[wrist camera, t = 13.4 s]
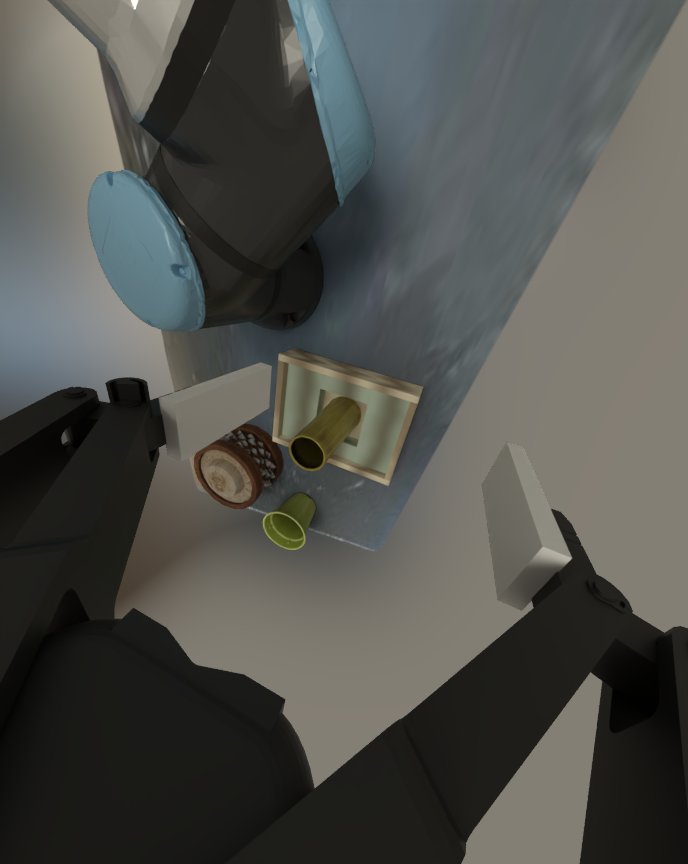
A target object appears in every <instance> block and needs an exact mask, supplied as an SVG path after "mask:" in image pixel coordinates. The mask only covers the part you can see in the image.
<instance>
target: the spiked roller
mask: <svg viewBox="0 0 688 864" xmlns="http://www.w3.org/2000/svg"><path fill="white" fill-rule="evenodd" d="M194 468H195V471H196V474H197V477H198V479H199V481H200V483H201V484H202V486H203V487H204V489H205V490H206V491H207V492H208V493H209V494H210V495H211V496H212V497H213V498H214V499H215V500H217V501H218V502H220V503H221V504H223V505H225V506H228V507H231V508H233V509H244V508H247V507H249V506H251V505H252V504H253V503H254V502H255V501H256V500H257V499H258V497H259V496H262V492H264V490H265V487H266V486H270V485H271V484H272V483H273V482H274V481H275V480H276V479H277V478H278V477H279V475H280V474H281V473H282V468H283V458H282V453H281V451H280V449H279V447H278V445H277V443H276V442H274V441H272V437H271V436H270V435H269V434H268V433H267V432H265V431H264V430H262V429H261V428H259V427H257V426H253V425H250V424H242V425H241V426H239V427H237V428H236V429H234V430H233V431H231V432H229V433H228V434H226V435H224V436H223V437H221V438H220V440H216V441H215V442H213V443H211V444H210V445H208V446H206V447H205V448H203V449H201V450H200V451H198V452H197V453H196V455H195V457H194Z"/></svg>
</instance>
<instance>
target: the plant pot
mask: <svg viewBox="0 0 688 864" xmlns="http://www.w3.org/2000/svg"><path fill="white" fill-rule="evenodd" d="M315 511H316V506H315V503H314V501H313V500H312V499H311V498H309V497H308V496H307V495H306V494H303V493H296V494H294V495H293V496H292V497H291V498H289V499H288V500H287V501H286V502H285V503H284V504H283V505H282V506H280V507H279V508H278V509H277V510H274V511H273V512H270V513H268V514H267V515H266V516H265V517H264V520H263V528H264V530H265V532H266V534H267V535H268V537H269V538H270V539H271V540H272V541H273V542H274V543H276V544H277V545H279V546H281V547H283V548H286V549H289V550H296V549H299V548H301V547H302V546H303V545H304V543H305V540H306V531H307V529H308V527H309V524H310V522H311V520H312V518H313V515H314V513H315Z"/></svg>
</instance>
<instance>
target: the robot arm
mask: <svg viewBox="0 0 688 864" xmlns="http://www.w3.org/2000/svg"><path fill="white" fill-rule="evenodd" d="M48 1H49V2H50V3H51V4H52V5H53V6H54V7H55V8H56V9H57V10H58V11H59V12H60V13H61V14H62V15H63V16H64V17H65V18H66V19H67V20H68V21H69V22H71V23H72V25H74V26H75V27H76V28H77V29H78V30H79V31H80V32H81V33H82V34H83V35H84V36H85V37H86V38H87V39H88V40H89V41H90V42H91V43H92V44H93V45H94V46H95V47H96V48H97V49H98V50H99V51H100V52H101V53H102V54H103V55H104V56H105V57H106V59H107V60H108V62H109V64H110V65H111V67H112V69H113V70H114V72H115V74H116V77H117V80H118V82H119V85H120V87H121V90H122V93H123V95H124V98H125V100H126V103H127V106H128V108H129V111H130V113H131V116H132V118H133V119H134V120H135V121H136V122H137V123H138V124H140V125H141V126H142V127H143V128H144V129H145V130H146V131H147V132H149V133H150V134H151V135H152V136H153V137H154V138H155V139H156V140H157V141H159V142H160V143H161V144H160V146H159V148H158V150H157V153H156V155H155V157H154V159H153V161H152V163H151V165H150V168H149V170H148V172H147V174H146V175H145V176H144V177H141V176H140V175H138V174H136V173H133V172H131V171H129V170H121V171H118V172H111V171H108V172H104V173H103V174H101V175H99V177H97V178H96V180H95V181H94V183H93V185H92V187H91V190H90V194H89V199H88V221H89V229H90V234H91V238H92V242H93V246H94V248H95V251H96V253H97V257H98V260H99V262H100V265H101V267H102V269H103V271H104V274H105V276H106V278H107V279H108V281H109V283H110V285H111V286H112V288H113V289H114V291H115V292H116V294H117V295H118V297H119V298H120V299H121V300H122V302H123V303H124V304H125V305H126V306H127V308H128V309H129V310H130V311H131V312H132V313H133V314H135V315H136V316H137V317H138V318H139V319H141V320H142V321H143V322H145V323H147V324H148V325H150V326H152V327H156V328H158V329H161V330H165V331H188V332H191V331H195V330H198V329H203V328H210V327H217V326H223V325H230V324H237V323H244V322H252V323H254V324H257V325H259V326H262V327H264V328H268V329H273V330H283V329H288V328H293V327H296V326H298V325H300V324H301V323H303V322H304V321H306V320H307V319H308V318H309V317H310V316H311V314H312V313H313V312H314V310H315V308H316V306H317V304H318V302H319V299H320V296H321V292H322V287H323V267H322V262H321V257H320V254H319V251H318V248H317V246H316V244H315V242H314V240H313V238H312V237H311V235H312V234H313V233H314V232H315V231H316V230H317V229H318V228H319V226H320V225H321V224H322V223H323V222H324V221H325V220H326V219H327V218H328V217H329V216H330V215H331V214H332V213H333V212H334V211H335V209H336V208H337V207H338V206H339V207H341V206H342V205H343V204H344V201H345V198H346V196H347V195H348V194H349V193H350V192H351V191H352V189H353V188H354V187H355V186H356V185H357V183H358V182H359V181H360V180H361V179H362V177H363V176H364V175H365V174H366V173H367V171H368V170H369V168H370V167H371V165H372V162H373V159H374V155H375V147H376V141H375V133H374V128H373V125H372V121H371V118H370V114H369V111H368V108H367V105H366V102H365V99H364V96H363V93H362V90H361V87H360V84H359V81H358V78H357V75H356V73H355V70H354V67H353V64H352V61H351V59H350V56H349V53H348V50H347V48H346V45H345V42H344V40H343V37H342V34H341V32H340V29H339V26H338V24H337V21H336V19H335V16H334V13H333V11H332V8H331V6H330V3H329V1H328V0H48ZM271 369H272V366H270V365H267V364H264V363H261V362H260V363H257V364H255V365H252V366H249V367H246V368H243V369H240V370H237V371H235V372H232V373H229V374H226V375H223V376H220V377H217V378H215V379H212V380H209V381H206V382H203V383H200V384H197V385H195V386H190V387H187V388H184V389H182V390H179V391H176V392H174V393H170V394H167V395H164V396H162V397H159V398H156V399H153V400H150V397H149V391H148V386H147V382H146V381H145V380H142V379H139V378H118V379H113V380H110V381H108V382H106V387H107V391H108V395H109V399H110V403H107V402H101V401H99V399H98V395H97V392H96V391H95V390H94V389H90V388H81V387H75V388H74V387H70V388H68V389H63V390H60V391H57V392H55V393H53V394H51V395H49V396H47V397H45V398H43V399H41V400H39V401H37V402H35V403H34V404H31V405H29V406H28V407H26V408H24V409H22V410H20V411H18V412H16V413H14V414H13V415H10V416H8V417H7V418H4V419H2V420H0V864H461V863H462V861H463V859H464V856H465V853H466V842H467V840H468V838H469V836H470V834H471V833H472V831H473V830H474V828H475V827H476V826H477V824H478V823H479V822H480V820H481V819H482V817H483V816H484V815H485V814H486V812H487V811H488V809H489V808H490V807H491V805H492V804H493V803H494V801H495V800H496V799H497V797H498V796H499V795H500V793H501V792H502V791H503V789H504V788H505V786H506V785H507V784H508V782H509V781H510V780H511V778H512V777H513V776H514V774H515V773H516V772H517V770H518V769H519V768H520V766H521V765H522V764H523V762H524V761H525V760H526V758H527V757H528V756H529V754H530V753H531V751H532V750H533V749H534V747H535V746H536V745H537V743H538V742H539V741H540V739H541V738H542V737H543V735H544V734H545V733H546V731H547V730H548V729H549V727H550V726H551V725H552V723H553V722H554V721H555V719H556V718H557V717H558V715H559V714H560V713H561V711H562V710H563V708H564V707H565V706H566V704H567V703H568V702H569V700H570V699H571V698H572V696H573V695H574V694H575V692H576V691H577V690H578V688H579V687H580V685H581V684H582V683H583V681H584V680H585V679H586V677H587V676H588V675H589V673H590V672H591V673H592V674H594V675H595V676H596V677H598V678H599V679H601V680H602V689H601V697H600V705H599V714H598V721H597V730H596V738H595V745H594V753H593V762H592V770H591V777H590V786H589V794H588V802H587V810H586V818H585V826H584V835H583V842H582V851H581V858H580V864H688V628H684V627H681V626H679V627H673V628H672V629H670V630H668V631H667V632H665V633H664V632H662V631H661V630H659V629H657V628H656V627H654V626H652V625H651V624H649V623H647V622H646V621H644V620H642V619H641V618H639V617H638V616H636V615H634V614H633V613H632V611H633V610H632V608H631V606H630V604H629V602H628V600H627V599H626V598H625V597H624V595H623V594H622V593H621V592H620V591H619V590H618V589H617V588H616V587H615V586H614V585H612V584H611V583H610V582H608V581H607V580H605V579H604V578H602V577H601V576H599V575H597V574H596V572H595V570H594V568H593V566H592V564H591V562H590V560H589V558H588V556H587V554H586V552H585V550H584V548H583V546H581V542H580V540H579V538H578V537H577V536H576V535H577V534H576V532H575V530H574V528H573V526H572V524H571V523H570V522H569V521H568V520H567V518H566V517H565V516H564V515H563V514H562V513H561V512H559V511H556V510H553V509H551V508H550V507H549V504H548V502H547V500H546V497H545V495H544V493H543V491H542V488H541V486H540V484H539V482H538V479H537V477H536V474H535V472H534V470H533V468H532V465H531V463H530V461H529V459H528V456H527V454H526V452H525V450H524V447H521V446H518V445H515V444H512V443H509V442H506V444H505V446H504V448H503V449H502V451H501V453H500V454H499V456H498V458H497V460H496V461H495V463H494V465H493V466H492V468H491V470H490V472H489V473H488V475H487V477H486V479H485V480H484V482H483V484H482V489H483V496H484V503H485V511H486V518H487V526H488V533H489V541H490V548H491V555H492V563H493V570H494V578H495V585H496V592H497V599H498V600H499V601H501V602H503V603H506V604H508V605H510V606H512V607H515V608H517V609H519V610H523V609H524V608H525V607H526V606H527V605H528V603H530V602H531V601H532V603H533V607H534V608H533V609H532V610H531V611H530V612H528V614H526V615H525V616H524V617H523V618H521V619H520V620H519V621H518V622H517V623H515V624H514V625H513V626H512V627H511V628H510V629H508V630H507V631H506V632H505V633H504V634H502V635H501V636H500V637H499V638H498V639H496V640H495V641H494V642H493V643H492V644H491V645H489V646H488V647H487V648H486V649H485V650H483V651H482V652H481V653H480V654H479V655H477V656H476V657H475V658H474V659H473V660H472V661H470V662H469V663H468V664H467V665H466V666H465V667H463V668H462V669H461V670H460V671H459V672H457V673H456V674H455V675H454V676H453V677H451V678H450V679H449V680H448V681H447V682H445V683H444V684H443V685H442V686H441V687H439V688H438V689H437V690H436V691H435V692H434V693H432V694H431V695H430V696H429V697H428V698H426V699H425V700H424V701H423V702H422V703H420V704H419V705H418V706H417V707H416V708H415V709H413V710H412V711H411V712H410V713H409V714H407V715H406V716H405V717H403V718H402V719H399V720H398V721H396V722H395V723H393V724H392V725H391V726H390V727H388V728H387V729H386V730H385V731H383V732H382V733H381V734H380V735H379V736H377V737H376V738H375V739H374V740H373V741H372V742H370V743H369V744H368V745H367V746H365V747H364V748H363V749H362V750H361V751H360V752H358V753H357V754H356V755H355V756H353V757H352V758H351V759H350V760H349V761H347V762H346V763H345V764H344V765H343V766H341V767H340V768H339V769H338V770H337V771H335V772H334V773H333V774H332V775H331V776H330V777H328V778H327V779H326V780H325V781H323V783H321V784H320V785H319V786H317V787H316V788H314V784H313V780H312V774H311V770H310V766H309V763H308V760H307V757H306V754H305V751H304V748H303V746H302V744H301V742H300V739H299V737H298V735H297V733H296V732H295V730H294V728H293V727H292V725H291V723H290V722H289V721H288V720H287V718H286V717H285V716H284V715H283V713H282V712H283V708H284V703H285V699H284V698H282V697H280V696H279V695H277V694H275V693H274V692H272V691H270V690H269V689H267V688H265V687H264V686H262V685H260V684H259V683H257V682H256V681H254V680H252V679H251V678H249V677H247V676H246V675H243V674H238V673H233V672H228V671H223V670H218V669H213V668H208V667H203V666H198V665H196V664H194V663H193V662H192V661H191V660H190V659H189V657H188V656H187V654H186V653H185V652H184V650H183V649H182V648H181V646H180V645H179V644H178V642H177V641H176V640H175V638H174V637H173V636H172V634H171V633H170V632H169V630H168V629H167V628H166V627H164V626H162V625H161V624H159V623H158V622H156V621H154V620H152V619H151V618H149V617H148V616H146V615H144V614H143V613H141V612H139V611H138V610H136V609H134V608H133V609H132V610H131V611H130V612H129V613H128V614H127V615H126V616H124V617H123V618H122V619H114V607H115V601H116V597H117V594H118V590H119V587H120V584H121V581H122V577H123V574H124V571H125V567H126V564H127V561H128V557H129V554H130V551H131V547H132V544H133V541H134V538H135V534H136V531H137V528H138V524H139V521H140V518H141V514H142V511H143V508H144V504H145V501H146V498H147V494H148V491H149V488H150V484H151V481H152V478H153V475H154V471H155V468H156V465H157V461H158V458H159V447H161V446H163V445H165V444H166V447H167V454H168V456H170V457H173V458H175V459H177V460H179V461H183V460H185V459H186V458H188V457H190V456H192V455H193V454H195V453H197V452H198V451H200V450H201V449H203V448H205V447H206V446H208V445H210V444H211V443H213V442H215V441H216V440H218V439H219V438H221V437H223V436H224V435H226V434H228V433H229V432H231V431H233V430H234V429H236V428H237V427H239V426H241V425H242V424H244V423H246V422H247V421H249V420H251V419H252V418H254V417H255V416H257V415H259V414H260V413H262V412H264V411H265V410H267V409H269V402H270V385H271ZM64 431H65V434H66V436H67V439H68V441H67V442H66V443H64V444H62V441H61V437H62V434H63V432H64Z"/></svg>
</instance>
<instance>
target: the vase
mask: <svg viewBox="0 0 688 864" xmlns="http://www.w3.org/2000/svg"><path fill="white" fill-rule="evenodd" d="M360 420H361V411H360V408H359V407H358V405H357V404H356V403H355V401H353V400H352V399H350V398H347V397H343V396H340V397H336V398H334V399H332V400H331V401H330V403H329V404H328V405H327V406H326V407H325V408H324V409H323V410H322V411H321V412H320V413H319V414H318V415H317V416H316V417H315V418H314V419H313V420H312V421H311V422H310V423H309V424H308V425H307V426H306V427H304V428H303V429H302V430H301V431H300V432H299V433H298V434H297V435H296V436H295V437H294V438H293V439H292V440H291V442H290V444H289V453H290V456H291V458H292V460H293V461H294V462H295V464H296V465H298V466H299V467H300V468H302V469H304V470H308V471H315V470H318V469H320V468H322V466H323V465H324V464H325V463H326V462H327V461H328V459H329V458H330V457H331V455H332V454H333V453H334V451H335V450H336V449H337V448H338V447H339V445H340V444H341V443H342V442H343V441H344V439H345V438H346V437H347V436H348V435H349V434H350V433H351V431H352V430H353V429H354V428H355V427H356V426H357V425H358V424H359V422H360Z"/></svg>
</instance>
